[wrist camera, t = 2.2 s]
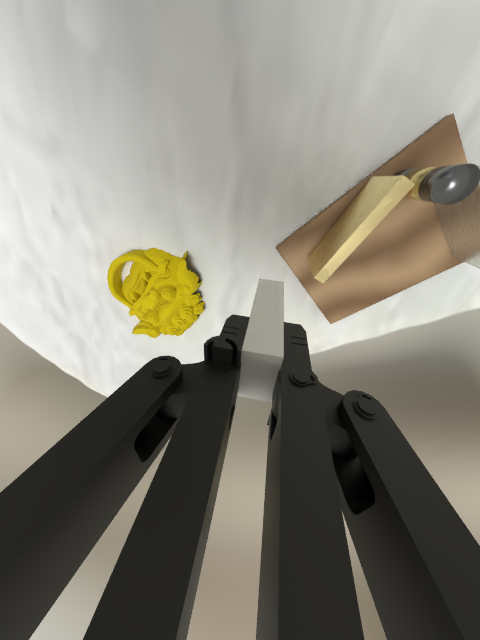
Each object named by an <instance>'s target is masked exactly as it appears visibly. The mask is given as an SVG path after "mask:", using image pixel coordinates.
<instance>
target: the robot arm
mask: <svg viewBox="0 0 480 640" xmlns="http://www.w3.org/2000/svg"><path fill="white" fill-rule="evenodd" d="M237 396H242V397H247V398H252V399H257V400H261V401H267V402H271V401H272V409H271V413H270V416H269V419H268V423H267V425H269V436H268V453H267V469H266V485H265V501H264V518H263V534H262V550H261V566H260V582H259V599H258V614H257V631H256V640H364V635H363V630H362V624H361V619H360V613H359V607H358V602H357V596H356V590H355V584H354V578H353V573H352V567H351V561H350V555H349V550H348V544H347V538H346V533H345V527H344V521H343V515H344V518H345V521H346V523H347V526H348V529H349V532H350V535H351V538H352V541H353V543H354V546H355V549H356V552H357V555H358V558H359V560H360V563H361V566H362V569H363V572H364V574H365V578H366V581H367V583H368V586H369V589H370V592H371V594H372V598H373V601H374V603H375V606H376V609H377V612H378V615H379V618H380V621H381V623H382V626H383V629H384V632H385V635H386V638H387V640H480V546H479V544H478V543H477V541H476V540H475V539H474V537H473V536H472V534H471V533H470V531H469V530H468V528H467V527H466V525H465V524H464V523H463V521H462V520H461V518H460V517H459V515H458V514H457V513H456V511H455V510H454V508H453V507H452V505H451V504H450V502H449V501H448V500H447V498H446V496H445V495H444V494H443V492H442V491H441V490H440V488H439V486H438V485H437V483H436V482H435V481H434V479H433V478H432V476H431V475H430V473H429V472H428V470H427V469H426V467H425V466H424V465H423V463H422V462H421V460H420V459H419V457H418V456H417V454H416V453H415V451H414V450H413V449H412V447H411V446H410V444H409V443H408V441H407V440H406V439H405V437H404V436H403V434H402V433H401V431H400V430H399V428H398V427H397V426H396V424H395V423H394V421H393V420H392V418H391V417H390V415H389V414H388V412H387V411H386V409H385V408H384V407H383V406H382V405H381V403H380V402H379V401H378V400H376V399H375V398H374V397H372V396H371V395H369V394H366V393H364V392H362V391H356V390H353V391H349V392H347V393H346V394H345V395H342V394H340V393H338V392H335V391H333V390H331V389H329V388H327V387H325V386H324V385H322V384H321V383H320V382H319V381H318V378H317V376H316V375H315V374H314V373H313V372H312V369H311V363H310V356H309V349H308V343H307V336H306V331H305V330H304V329H303V327H302V326H301V325H299V324H293V323H286V322H284V282H279V281H272V280H265V279H259V283H258V287H257V291H256V295H255V299H254V303H253V307H252V311H251V315H250V317H245V316H239V315H231V316H230V317H229V318H228V319H226V322H225V324H224V327H223V329H222V332H221V334H220V336H216V337H212V338H210V339H209V340H207V341H206V343H205V344H204V361H202V362H199V363H194V364H182V365H181V363H180V361H179V360H178V359H176V358H175V357H172V356H160V357H157V358H154V359H152V360H151V361H149V362H148V363H147V364H145V365H144V366H143V367H142V368H141V369H140V370H139V371H137V372H136V373H135V374H134V375H133V376H132V377H131V378H130V379H128V380H127V381H126V382H125V383H124V384H123V385H122V386H121V387H119V388H118V389H117V390H116V391H115V392H114V393H113V394H111V395H110V396H109V397H108V398H107V399H106V400H105V401H104V402H102V403H101V404H100V405H99V406H98V407H97V408H96V409H95V410H93V411H92V412H91V413H90V414H89V415H88V416H87V417H86V418H84V419H83V420H82V421H81V422H80V423H79V424H78V425H77V426H75V427H74V428H73V429H72V430H71V431H70V432H69V433H68V434H66V435H65V436H64V437H63V438H62V439H61V440H60V441H58V442H57V443H56V444H55V445H54V446H53V447H52V448H51V449H49V450H48V451H47V452H46V453H45V454H44V455H43V456H41V457H40V458H39V459H38V460H37V461H36V462H35V463H34V464H32V465H31V466H30V467H29V468H28V469H27V470H26V471H25V472H23V473H22V474H21V475H20V476H19V477H18V478H17V479H16V480H14V481H13V482H12V483H11V484H10V485H9V486H7V487H6V488H5V489H4V490H3V491H2V492H1V493H0V640H29V638H30V637H31V636H32V634H33V633H34V631H35V630H36V628H37V627H38V626H39V624H40V623H41V621H42V620H43V618H44V617H45V616H46V614H47V613H48V611H49V610H50V608H51V607H52V606H53V604H54V603H55V601H56V600H57V598H58V597H59V596H60V594H61V593H62V591H63V590H64V588H65V587H66V586H67V584H68V583H69V581H70V580H71V579H72V577H73V576H74V574H75V573H76V571H77V570H78V569H79V567H80V566H81V564H82V563H83V561H84V560H85V559H86V557H87V556H88V554H89V553H90V551H91V550H92V549H93V547H94V546H95V544H96V543H97V541H98V540H99V539H100V537H101V536H102V534H103V533H104V531H105V530H106V529H107V527H108V526H109V524H110V523H111V521H112V520H113V519H114V517H115V515H116V514H117V513H118V511H119V510H120V509H121V507H122V506H123V504H124V503H125V501H126V500H127V498H128V497H129V496H130V494H131V493H132V491H133V490H134V489H135V487H136V486H137V484H138V483H139V481H140V480H141V478H142V477H143V476H144V474H145V473H146V471H147V470H148V469H149V467H150V466H151V464H152V463H153V461H154V460H155V459H156V457H157V456H158V454H159V453H160V451H161V450H162V449H163V447H164V446H165V444H166V443H167V441H168V440H169V439H170V437H171V436H172V437H171V439H170V442H169V444H168V446H167V448H166V451H165V453H164V455H163V457H162V460H161V462H160V464H159V467H158V469H157V471H156V473H155V476H154V478H153V481H152V482H151V485H150V487H149V489H148V492H147V494H146V497H145V499H144V501H143V503H142V505H141V508H140V510H139V512H138V515H137V517H136V519H135V521H134V524H133V526H132V528H131V531H130V533H129V535H128V537H127V540H126V542H125V545H124V547H123V549H122V551H121V553H120V556H119V558H118V560H117V563H116V565H115V567H114V570H113V572H112V574H111V576H110V579H109V581H108V583H107V586H106V588H105V590H104V592H103V595H102V597H101V599H100V602H99V604H98V606H97V608H96V611H95V613H94V616H93V618H92V620H91V622H90V625H89V627H88V629H87V631H86V634H85V636H84V638H83V640H186V638H187V634H188V628H189V624H190V619H191V615H192V609H193V605H194V600H195V596H196V591H197V586H198V581H199V576H200V572H201V567H202V562H203V558H204V553H205V548H206V543H207V539H208V534H209V529H210V524H211V520H212V515H213V510H214V505H215V501H216V496H217V491H218V487H219V481H220V477H221V472H222V467H223V462H224V458H225V453H226V449H227V444H228V439H229V434H230V429H231V425H232V420H233V415H234V410H235V403H236V398H237ZM341 509H342V510H341ZM342 512H343V515H342Z"/></svg>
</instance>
